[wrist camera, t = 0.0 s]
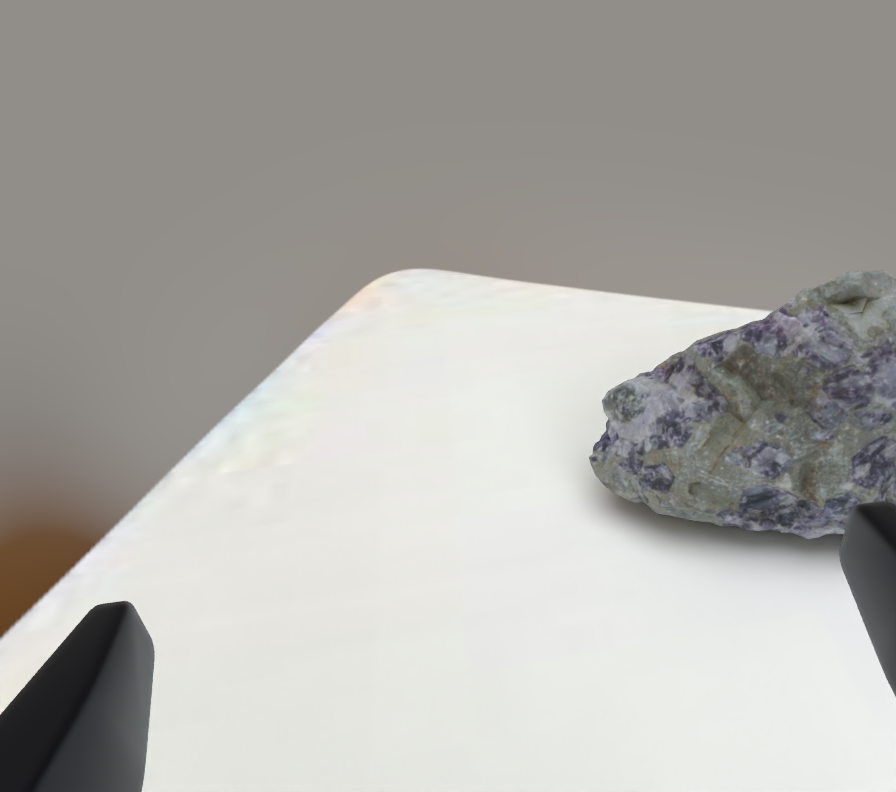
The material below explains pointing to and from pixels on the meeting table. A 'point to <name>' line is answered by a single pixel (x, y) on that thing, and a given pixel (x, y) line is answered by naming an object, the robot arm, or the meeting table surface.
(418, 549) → the meeting table surface
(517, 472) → the meeting table surface
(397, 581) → the meeting table surface
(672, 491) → the mineral rock
